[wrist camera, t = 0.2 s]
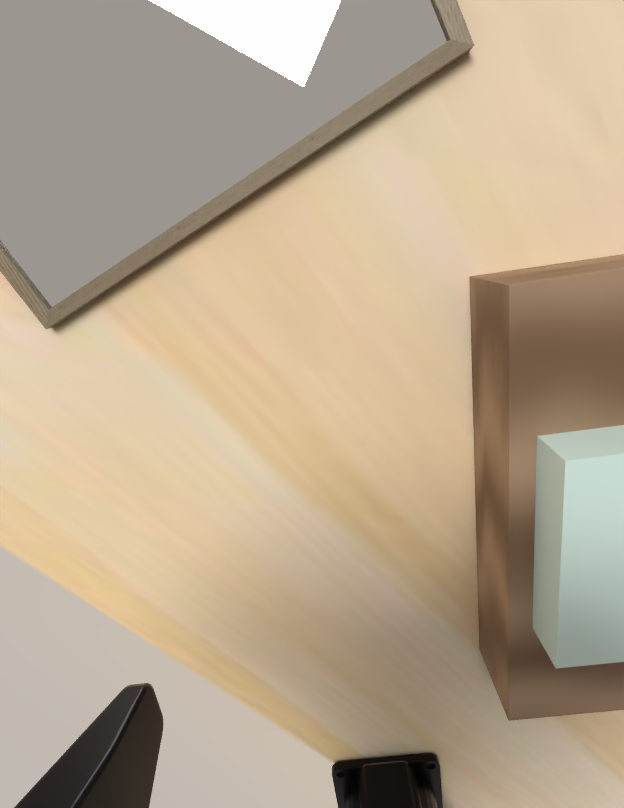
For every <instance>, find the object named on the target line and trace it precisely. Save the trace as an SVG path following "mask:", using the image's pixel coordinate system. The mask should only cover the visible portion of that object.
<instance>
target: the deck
mask: <svg viewBox="0 0 624 808" xmlns="http://www.w3.org/2000/svg"><path fill="white" fill-rule="evenodd" d="M470 304H471V342H472V379H473V417H474V455H475V493H476V531H477V569H478V606H479V644H480V651H481V654H482V656H483V658H484V661H485V663H486V666H487V668H488V671H489V673H490V676H491V678H492V681H493V683H494V685H495V688H496V690H497V693H498V695H499V698H500V700H501V703H502V705H503V708H504V710H505V713H506V715H507V717H508V720H519V719H529V718H540V717H551V716H561V715H572V714H582V713H593V712H603V711H614V710H624V662H617V663H607V664H597V665H587V666H577V667H567V668H557V669H556V668H555V666H554V665H553V663H552V661H551V659H550V658H549V656H548V654H547V652H546V650H545V649H544V647H543V645H542V643H541V642H540V640H539V638H538V636H537V635H536V633H535V631H534V629H533V585H534V542H535V500H536V457H537V436H541V435H549V434H557V433H565V432H572V431H580V430H588V429H596V428H604V427H612V426H620V425H624V254H623V255H616V256H609V257H603V258H596V259H589V260H582V261H575V262H568V263H561V264H554V265H547V266H540V267H533V268H526V269H519V270H513V271H506V272H499V273H492V274H485V275H478V276H471V277H470Z"/></svg>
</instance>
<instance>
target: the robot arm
mask: <svg viewBox="0 0 624 808" xmlns="http://www.w3.org/2000/svg"><path fill="white" fill-rule="evenodd" d="M162 732H163V716H162V712H161V710H160V707H159V704H158V701H157V698H156V695H155V692H154V689H153V687H152V686H151V685H150V684H148V683H144V684H134V685H129V686H127V687H125V688H124V689H123V690H122V691H121V692H120V693H119V694H118V695H117V697H116V698H115V699H114V700H113V701H112V702H111V703H110V704H109V705H108V706H107V707H106V708H105V710H104V711H103V712H102V713H101V714H100V715H99V716H98V717H97V718H96V719H95V721H94V722H93V723H92V724H91V725H90V726H89V727H88V728H87V729H86V730H85V731H84V732H83V733H82V735H81V736H80V737H79V738H78V739H77V740H76V741H75V742H74V743H73V744H72V745H71V747H70V748H69V749H68V750H67V751H66V752H65V753H64V754H63V755H62V756H61V758H60V759H59V760H58V761H57V762H56V763H55V764H54V765H53V766H52V767H51V768H50V769H49V770H48V772H47V773H46V774H45V775H44V776H43V777H42V778H41V779H40V780H39V781H38V782H37V783H36V785H35V786H34V787H33V788H32V789H31V790H30V791H29V792H28V793H27V794H26V796H25V797H24V798H23V799H22V800H21V801H20V802H19V803H18V804H17V805H16V807H15V808H149V803H150V798H151V793H152V787H153V782H154V776H155V771H156V765H157V760H158V754H159V748H160V743H161V738H162ZM332 777H333V782H334V787H335V792H336V798H337V803H338V808H443V806H442V792H441V778H440V765H439V761H438V758H437V756H436V755H433V754H424V755H413V756H402V757H391V758H380V759H369V760H358V761H348V762H338V763H335V764H334V765H333V766H332Z"/></svg>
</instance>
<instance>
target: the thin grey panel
mask: <svg viewBox="0 0 624 808" xmlns="http://www.w3.org/2000/svg"><path fill="white" fill-rule="evenodd" d="M473 46H474V44H473V41H472V39H471V36H470V33H469V31H468V28H467V26H466V23H465V21H464V18H463V15H462V13H461V10H460V8H459V5H458V3H457V0H0V271H1V272H2V274H3V275H4V276H5V278H6V279H7V280H8V281H9V283H10V284H11V285H12V286H13V288H14V289H15V290H16V292H17V293H18V294H19V295H20V297H21V298H22V299H23V300H24V302H25V303H26V304H27V306H28V307H29V308H30V309H31V311H32V312H33V313H34V314H35V316H36V317H37V318H38V320H39V321H40V322H41V323H42V325H43V326H44V327H45V329H48V328H51V327H53V326H55V325H56V324H58V323H59V322H61V321H63V320H64V319H66V318H67V317H69V316H70V315H72V314H73V313H75V312H76V311H78V310H79V309H81V308H82V307H84V306H85V305H87V304H88V303H90V302H91V301H93V300H94V299H96V298H97V297H99V296H100V295H102V294H103V293H105V292H106V291H108V290H109V289H111V288H112V287H114V286H115V285H117V284H118V283H120V282H121V281H123V280H124V279H126V278H127V277H129V276H130V275H132V274H133V273H135V272H137V271H138V270H140V269H141V268H143V267H144V266H146V265H147V264H149V263H150V262H152V261H153V260H155V259H156V258H158V257H159V256H161V255H162V254H164V253H165V252H167V251H168V250H170V249H171V248H173V247H174V246H176V245H177V244H179V243H180V242H182V241H183V240H185V239H186V238H188V237H189V236H191V235H192V234H194V233H195V232H197V231H198V230H200V229H201V228H203V227H204V226H206V225H207V224H209V223H211V222H212V221H214V220H215V219H217V218H218V217H220V216H221V215H223V214H224V213H226V212H227V211H229V210H230V209H232V208H233V207H235V206H236V205H238V204H239V203H241V202H242V201H244V200H245V199H247V198H248V197H250V196H251V195H253V194H254V193H256V192H257V191H259V190H260V189H262V188H263V187H265V186H266V185H268V184H269V183H271V182H272V181H274V180H275V179H277V178H278V177H280V176H281V175H283V174H285V173H286V172H288V171H289V170H291V169H292V168H294V167H295V166H297V165H298V164H300V163H301V162H303V161H304V160H306V159H307V158H309V157H310V156H312V155H313V154H315V153H316V152H318V151H319V150H321V149H322V148H324V147H325V146H327V145H328V144H330V143H331V142H333V141H334V140H336V139H337V138H339V137H340V136H342V135H343V134H345V133H346V132H348V131H349V130H351V129H352V128H354V127H355V126H357V125H359V124H360V123H362V122H363V121H365V120H366V119H368V118H369V117H371V116H372V115H374V114H375V113H377V112H378V111H380V110H381V109H383V108H384V107H386V106H387V105H389V104H390V103H392V102H393V101H395V100H396V99H398V98H399V97H401V96H402V95H404V94H405V93H407V92H408V91H410V90H411V89H413V88H414V87H416V86H417V85H419V84H420V83H422V82H423V81H425V80H426V79H428V78H429V77H431V76H433V75H434V74H436V73H437V72H439V71H440V70H442V69H443V68H445V67H446V66H448V65H449V64H451V63H452V62H454V61H455V60H457V59H458V58H460V57H461V56H463V55H464V54H466V53H467V52H469V51H470V50H471V48H472V47H473Z"/></svg>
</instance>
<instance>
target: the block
mask: <svg viewBox="0 0 624 808" xmlns="http://www.w3.org/2000/svg"><path fill="white" fill-rule="evenodd" d="M533 629H534V631H535V633H536V635H537V636H538V638H539V640H540V642H541V643H542V645H543V647H544V649H545V650H546V652H547V654H548V656H549V658H550V659H551V661H552V663H553V665H554V666H555V668H556V669H557V668H567V667H577V666H587V665H597V664H607V663H617V662H624V425H620V426H612V427H604V428H596V429H588V430H580V431H572V432H565V433H557V434H549V435H541V436H537V457H536V500H535V542H534V585H533Z"/></svg>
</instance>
